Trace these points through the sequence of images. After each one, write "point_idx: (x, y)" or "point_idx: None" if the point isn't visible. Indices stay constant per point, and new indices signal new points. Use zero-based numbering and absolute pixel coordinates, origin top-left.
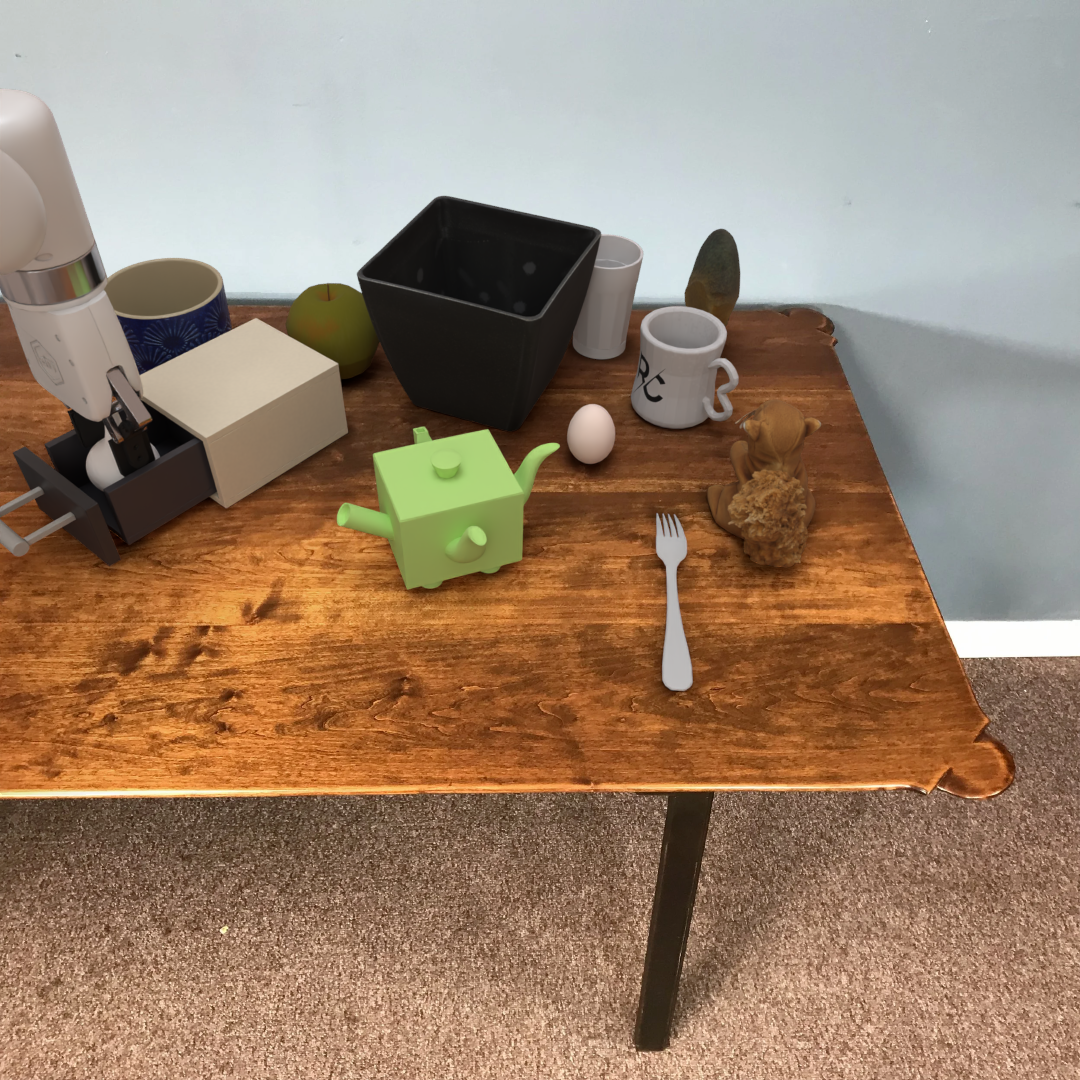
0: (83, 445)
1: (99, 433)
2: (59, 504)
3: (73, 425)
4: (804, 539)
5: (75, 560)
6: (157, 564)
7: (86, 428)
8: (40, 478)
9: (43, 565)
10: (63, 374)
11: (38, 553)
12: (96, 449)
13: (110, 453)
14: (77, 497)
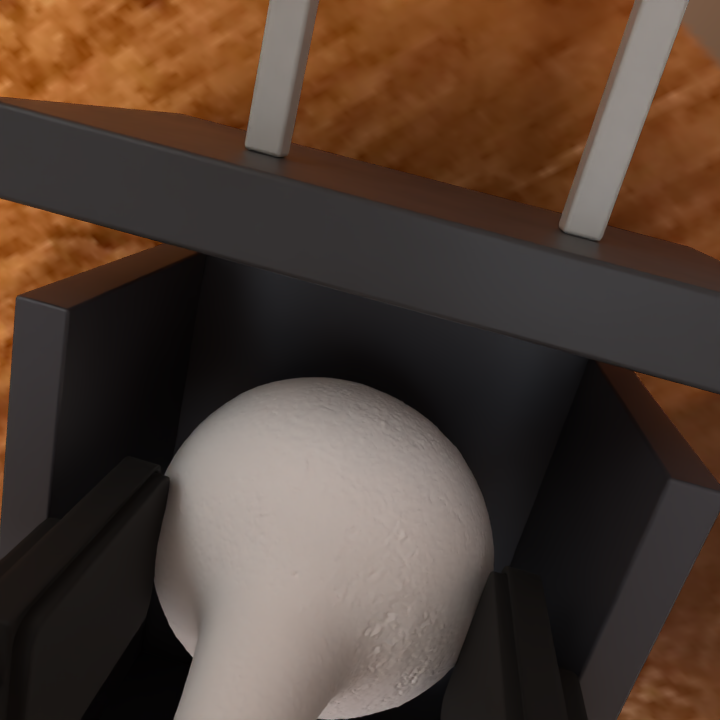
0: (507, 573)
1: (464, 677)
2: (403, 189)
3: (551, 685)
4: None
5: (372, 104)
6: (102, 230)
7: (485, 687)
8: (528, 236)
9: (467, 16)
10: None
11: (538, 61)
12: (372, 566)
13: (251, 563)
14: (103, 168)
